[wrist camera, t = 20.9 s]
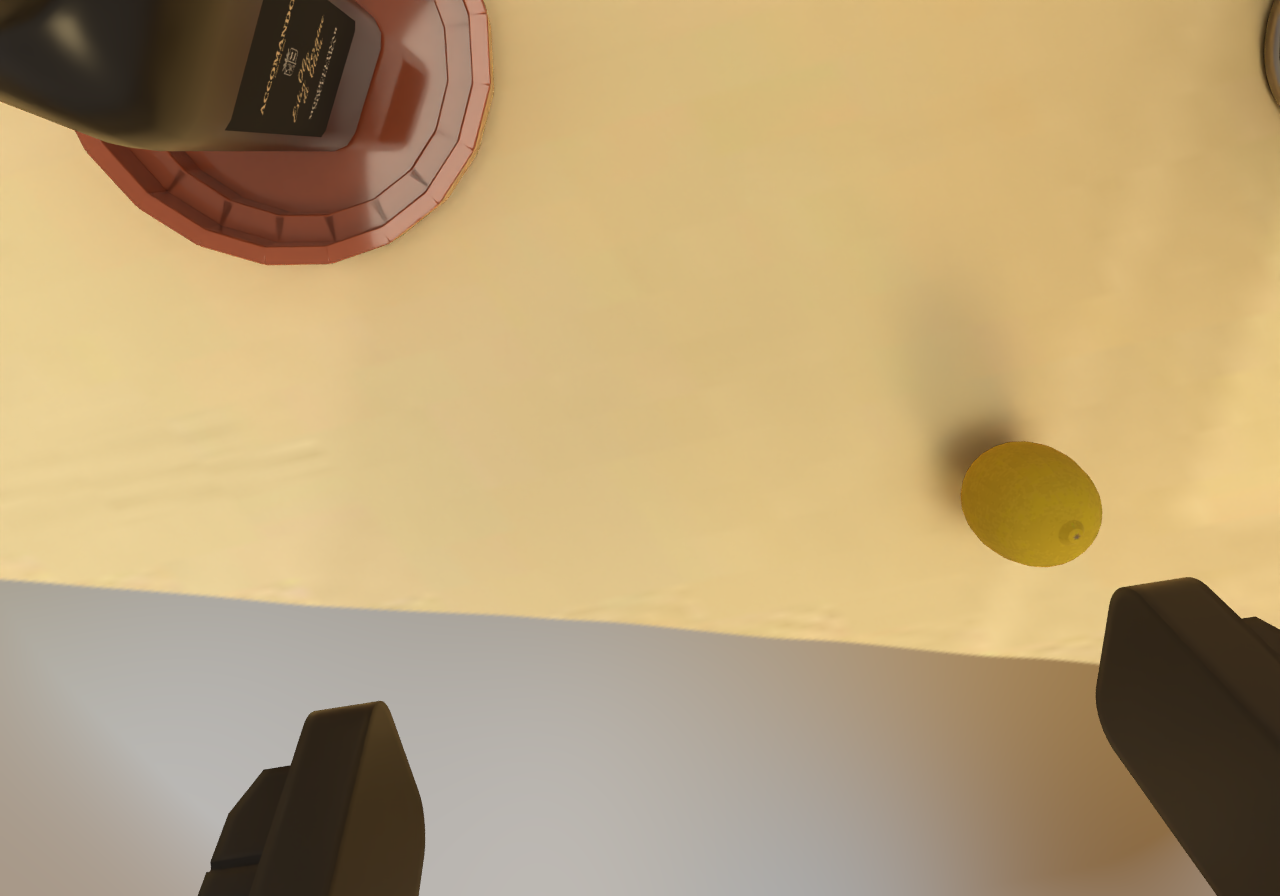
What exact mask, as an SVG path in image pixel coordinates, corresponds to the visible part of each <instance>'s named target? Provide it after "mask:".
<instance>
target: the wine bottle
mask: <svg viewBox="0 0 1280 896" xmlns="http://www.w3.org/2000/svg"><path fill="white" fill-rule="evenodd" d="M380 49H381V32H380V30H379V27H378V25H377V23H376V21H375V19H374V17H372V16H371V15H370V14H369V13H368V12H367V11H366V10H365V9H364V8H362V7H361V6H360V5H359V4H358V3H357V2H356V1H355V0H0V102H3V103H6V104H8V105H11V106H13V107H16V108H19V109H21V110H24V111H26V112H29V113H32V114H34V115H37V116H39V117H42V118H45V119H47V120H50V121H52V122H55V123H57V124H60V125H62V126H65V127H68V128H70V129H73V130H75V131H78V132H81V133H83V134H86V135H89V136H91V137H94V138H97V139H99V140H102V141H105V142H107V143H111V144H116V145H121V146H125V147H130V148H138V149H146V150H154V151H336V150H338V149H340V148H343V147H345V146H347V145H348V143H349V142H350V140H351V139H352V137H353V136H354V134H355V132H356V129H357V125H358V122H359V119H360V115H361V112H362V109H363V105H364V102H365V99H366V96H367V92H368V89H369V86H370V82H371V79H372V76H373V72H374V69H375V66H376V63H377V59H378V56H379V53H380Z"/></svg>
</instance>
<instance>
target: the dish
mask: <svg viewBox="0 0 1280 896" xmlns="http://www.w3.org/2000/svg"><path fill="white" fill-rule="evenodd" d="M355 1H356V2H357V3H358V4H359V5H360V6H361V7H362V8H364V9H365V10H366V11H367V12H368V13H369V14H370V15H371V16H372V17H374V19H375V21H376V23H377V25H378V27H379V30H380V32H381V49H380V53H379V56H378V59H377V63H376V66H375V69H374V72H373V76H372V79H371V82H370V86H369V89H368V92H367V96H366V99H365V102H364V105H363V109H362V112H361V115H360V119H359V122H358V125H357V129H356V132H355V134H354V136H353V137H352V139H351V140H350V142H349V143H348V145H347V146H345V147H343V148H340V149H338V150H336V151H154V150H146V149H138V148H130V147H125V146H121V145H116V144H111V143H107V142H105V141H102V140H99V139H97V138H94V137H91V136H89V135H86V134H83V133H81V132H78V131H75V132H76V134H77V135H78V137H79V139H80V141H81V143H82V145H83V147H84V149H85V151H87V153H88V154H89V155H90V156H91V158H92V159H93V160H94V161H95V162H96V163H97V164H98V165H99V166H100V167H101V168H102V169H103V171H104V172H105V173H106V174H107V175H108V176H109V177H110V178H111V179H112V180H113V181H114V183H115V184H116V185H117V186H118V187H119V188H120V189H121V190H122V191H123V192H124V193H125V195H126V196H127V197H128V198H129V199H130V200H131V201H132V202H133V203H134V204H135V205H136V206H137V207H138V208H139V209H141V210H142V211H144V212H145V213H147V214H149V215H150V216H152V217H153V218H155V219H157V220H158V221H160V222H161V223H163V224H165V225H166V226H168V227H169V228H171V229H172V230H174V231H176V232H177V233H179V234H180V235H182V236H184V237H185V238H187V239H188V240H190V241H192V242H193V243H195V244H196V245H200V246H201V247H205V248H208V249H212V250H215V251H218V252H222V253H225V254H229V255H232V256H236V257H239V258H243V259H246V260H250V261H253V262H257V263H260V264H265V265H307V264H333V263H335V262H338V261H341V260H344V259H347V258H350V257H353V256H356V255H359V254H361V253H364V252H367V251H370V250H373V249H376V248H379V247H382V246H384V245H387V244H390V243H391V242H393V241H394V240H396V239H397V238H399V237H400V236H402V235H403V234H405V233H406V232H407V231H408V230H410V229H411V228H412V227H413V226H415V225H416V224H417V223H419V222H420V221H421V220H422V219H424V218H425V217H426V216H427V215H429V214H430V213H431V212H433V211H434V210H435V209H436V208H438V207H439V206H440V205H441V204H443V203H444V202H445V201H446V200H447V199H448V198H449V197H450V195H451V193H452V192H453V190H454V189H455V187H456V186H457V184H458V183H459V181H460V179H461V178H462V176H463V175H464V173H465V172H466V170H467V169H468V167H469V165H470V164H471V162H472V161H473V159H474V158H475V156H476V155H477V153H478V150H479V149H480V145H481V141H482V137H483V133H484V129H485V125H486V122H487V118H488V114H489V110H490V106H491V102H492V98H493V94H494V92H493V91H494V76H493V55H492V35H491V26H490V21H489V18H488V14H487V10H486V7H485V4H484V1H483V0H355Z"/></svg>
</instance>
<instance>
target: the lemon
mask: <svg viewBox="0 0 1280 896" xmlns="http://www.w3.org/2000/svg"><path fill="white" fill-rule="evenodd" d="M961 504H962V510H963V512H964V515H965V517H966V520H967V522H968V525H969V526H970V528H971V529H972V530H973V532H974V533H975V534H976V535H977V537H978V538H979V539H980V540H981V541H982V542H983V543H984V544H985V545H986V546H988V547H989V548H990V549H992V550H993V551H995V552H996V553H998V554H999V555H1001V556H1003V557H1004V558H1007V559H1009V560H1012V561H1015V562H1018V563H1021V564H1024V565H1028V566H1035V567H1051V566H1056V565H1061V564H1064V563H1067V562H1069V561H1071V560H1073V559H1075V558H1076V557H1078V556H1079V555H1081V554H1082V553H1083V552H1085V551H1086V549H1087V548H1088V547H1089V546H1090V545H1091V544H1092V542H1093V541H1094V539H1095V538H1096V536H1097V534H1098V531H1099V528H1100V525H1101V521H1102V505H1101V500H1100V496H1099V493H1098V491H1097V489H1096V487H1095V485H1094V483H1093V482H1092V480H1091V479H1090V477H1089V476H1088V475H1087V474H1086V473H1085V472H1084V471H1083V470H1082V469H1081V468H1080V467H1079V465H1078V464H1077V463H1076V462H1075V461H1073V460H1072V459H1071V458H1070V457H1068V456H1067V455H1065V454H1063V453H1061V452H1059V451H1057V450H1055V449H1053V448H1051V447H1049V446H1046V445H1042V444H1037V443H1032V442H1025V441H1022V442H1008V443H1004V444H1001V445H998V446H995V447H993V448H991V449H989V450H988V451H986V452H984V453H983V454H982V455H980V456H979V457H978V458H977V459H976V460H975V461H974V462H973V463H972V465H971V466H970V468H969V469H968V470H967V473H966V475H965V477H964V480H963V484H962V490H961Z"/></svg>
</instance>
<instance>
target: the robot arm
mask: <svg viewBox="0 0 1280 896" xmlns="http://www.w3.org/2000/svg"><path fill="white" fill-rule="evenodd" d="M1264 58H1265V69H1266V75H1267V79H1268V83H1269V86H1270V89H1271V91H1272V94H1273V96H1274V98H1275V100H1276V102H1277V103H1278V105H1279V106H1280V0H1274V3H1273V6H1272V9H1271V12H1270V15H1269V19H1268V23H1267V29H1266V35H1265V45H1264ZM1096 705H1097V711H1098V715H1099V719H1100V722H1101V725H1102V728H1103V731H1104V733H1105V735H1106V738H1107V739H1108V741H1109V743H1110V745H1111V747H1112V748H1113V750H1114V751H1115V753H1116V754H1117V755H1118V757H1119V758H1120V760H1121V761H1122V762H1123V764H1124V765H1125V767H1126V768H1127V770H1128V771H1129V772H1130V774H1131V775H1132V776H1133V778H1134V779H1135V780H1136V782H1137V784H1138V785H1139V786H1140V788H1141V789H1142V791H1143V792H1144V793H1145V795H1146V796H1147V798H1148V799H1149V800H1150V802H1151V803H1152V805H1153V806H1154V807H1155V809H1156V810H1157V812H1158V813H1159V814H1160V816H1161V817H1162V819H1163V820H1164V821H1165V823H1166V824H1167V826H1168V827H1169V828H1170V830H1171V831H1172V833H1173V834H1174V836H1175V837H1176V838H1177V840H1178V841H1179V843H1180V844H1181V846H1182V847H1183V848H1184V850H1185V851H1186V853H1187V854H1188V855H1189V857H1190V858H1191V859H1192V861H1193V862H1194V864H1195V865H1196V867H1197V868H1198V869H1199V871H1200V872H1201V874H1202V875H1203V876H1204V878H1205V879H1206V881H1207V882H1208V884H1209V885H1210V886H1211V888H1212V889H1213V891H1214V892H1215V893H1216V895H1217V896H1280V629H1278V628H1276V627H1274V626H1272V625H1270V624H1268V623H1267V622H1265V621H1263V620H1261V619H1259V618H1257V617H1249V618H1243V619H1241V618H1240V617H1239V616H1238V615H1237V614H1236V613H1235V612H1234V611H1233V610H1232V609H1231V608H1230V607H1229V606H1228V605H1227V604H1226V603H1225V602H1223V601H1222V600H1221V599H1220V598H1219V597H1218V596H1217V595H1216V594H1215V593H1214V592H1213V591H1212V590H1211V589H1210V588H1209V587H1208V586H1206V585H1205V584H1204V583H1203V582H1201V581H1199V580H1198V579H1195V578H1191V577H1185V578H1179V579H1172V580H1166V581H1160V582H1153V583H1147V584H1140V585H1134V586H1128V587H1122V588H1119V589H1117V590H1116V591H1115V592H1114V594H1113V595H1112V598H1111V601H1110V605H1109V611H1108V617H1107V623H1106V629H1105V636H1104V642H1103V648H1102V654H1101V660H1100V667H1099V673H1098V679H1097V686H1096ZM424 851H425V824H424V813H423V807H422V802H421V797H420V794H419V791H418V788H417V785H416V783H415V780H414V777H413V774H412V771H411V769H410V766H409V763H408V760H407V757H406V754H405V752H404V749H403V746H402V743H401V740H400V737H399V735H398V732H397V729H396V726H395V723H394V721H393V718H392V715H391V712H390V710H389V708H388V706H387V705H386V704H385V703H384V702H383V701H376V702H370V703H363V704H357V705H351V706H344V707H338V708H332V709H325V710H319V711H314V712H312V713H310V714H309V716H308V717H307V719H306V721H305V723H304V726H303V729H302V732H301V735H300V738H299V741H298V744H297V747H296V750H295V753H294V757H293V760H292V763H291V766H284V767H278V768H272V769H265V770H263V771H262V773H261V774H260V775H259V776H258V778H257V779H256V780H255V781H254V783H253V784H252V785H251V787H250V788H249V789H248V790H247V791H246V793H245V794H244V795H243V796H242V798H241V799H240V800H239V802H238V803H237V804H236V805H235V807H234V808H233V809H232V810H231V812H230V813H229V814H228V817H227V819H226V822H225V825H224V827H223V830H222V833H221V836H220V838H219V841H218V843H217V846H216V848H215V851H214V854H213V856H212V859H211V871H210V872H206V875H205V878H204V880H203V883H202V886H201V889H200V891H199V894H198V896H419V889H420V881H421V875H422V867H423V860H424Z"/></svg>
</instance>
